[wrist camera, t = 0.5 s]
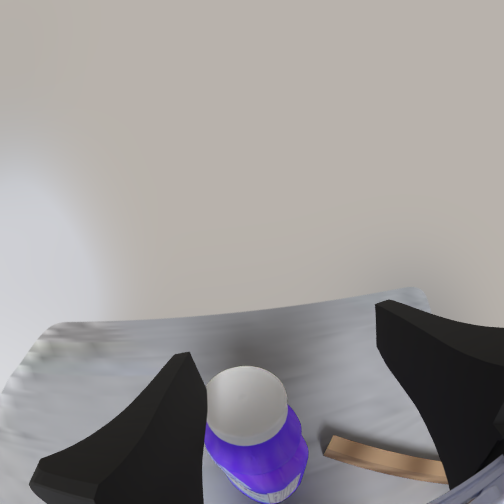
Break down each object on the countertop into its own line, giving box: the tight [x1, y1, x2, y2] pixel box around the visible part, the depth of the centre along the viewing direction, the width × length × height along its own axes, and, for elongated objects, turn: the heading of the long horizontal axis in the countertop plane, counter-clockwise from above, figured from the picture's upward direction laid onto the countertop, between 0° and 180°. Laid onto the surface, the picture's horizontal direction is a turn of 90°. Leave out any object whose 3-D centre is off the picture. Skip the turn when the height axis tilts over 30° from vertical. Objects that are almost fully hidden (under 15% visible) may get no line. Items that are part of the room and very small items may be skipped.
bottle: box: [204, 366, 308, 504], centre depth 16 cm, size 7×6×17 cm
